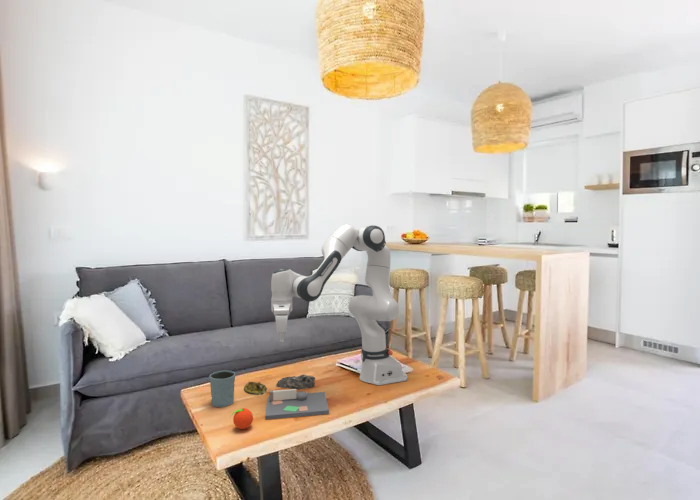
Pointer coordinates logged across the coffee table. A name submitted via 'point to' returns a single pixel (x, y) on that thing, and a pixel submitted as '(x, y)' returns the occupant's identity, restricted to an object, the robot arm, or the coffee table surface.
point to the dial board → (297, 407)
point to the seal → (255, 388)
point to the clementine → (242, 418)
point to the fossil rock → (297, 382)
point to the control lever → (287, 395)
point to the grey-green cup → (222, 388)
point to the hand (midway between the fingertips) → (282, 339)
